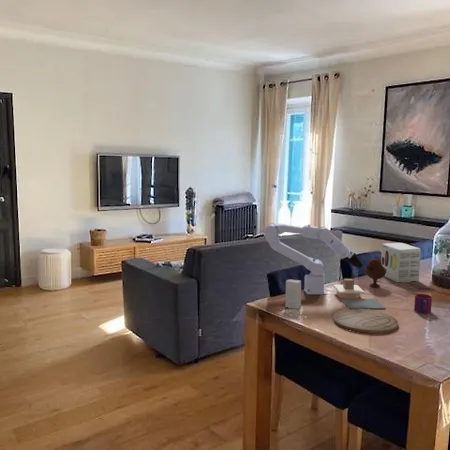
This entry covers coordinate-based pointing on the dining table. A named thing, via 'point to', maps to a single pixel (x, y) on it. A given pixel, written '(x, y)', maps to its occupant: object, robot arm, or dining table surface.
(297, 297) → the skincare box
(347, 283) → the cover
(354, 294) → the bowl
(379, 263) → the ice cream bowl
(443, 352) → the dining table surface
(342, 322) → the trivet
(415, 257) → the supplement box
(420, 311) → the mug
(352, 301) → the mat
